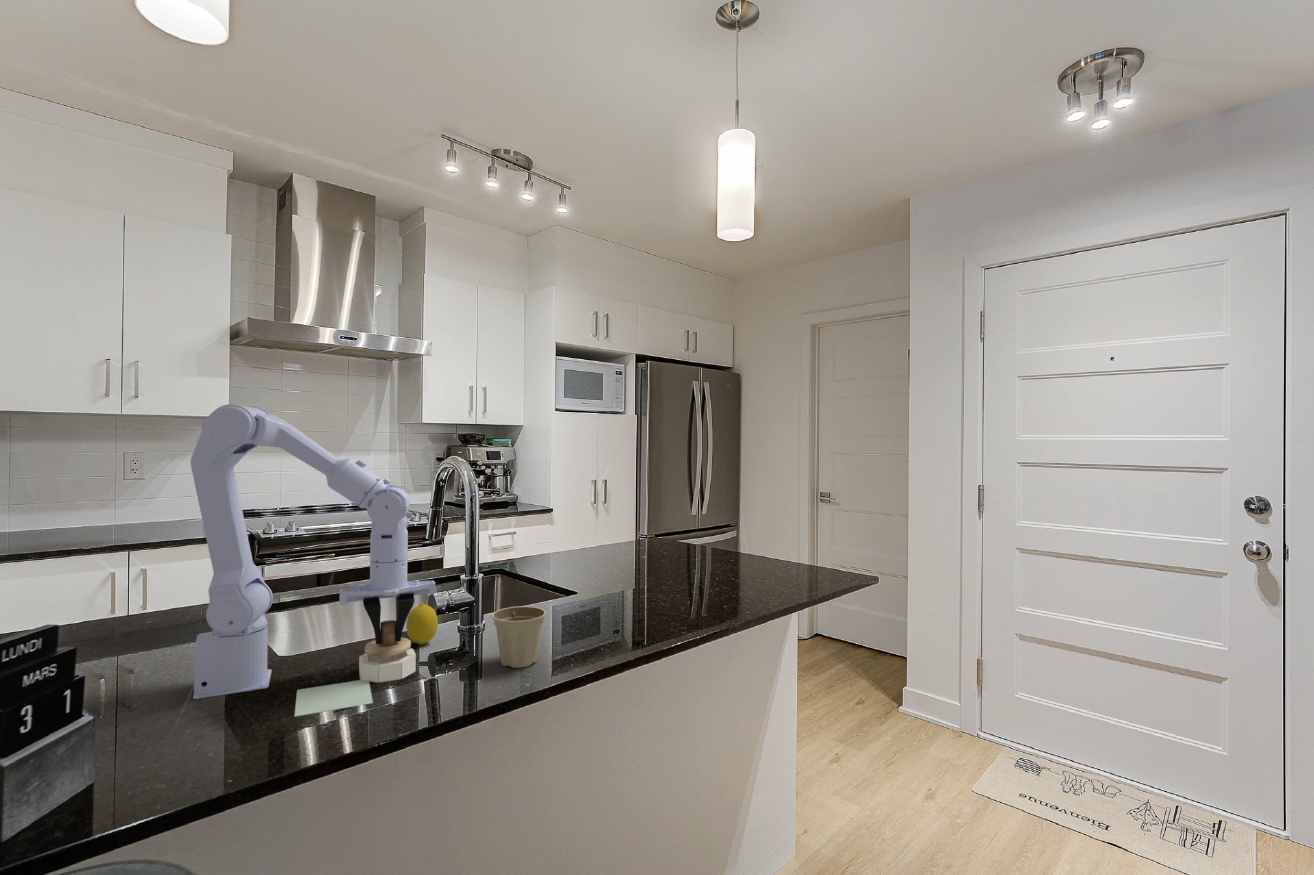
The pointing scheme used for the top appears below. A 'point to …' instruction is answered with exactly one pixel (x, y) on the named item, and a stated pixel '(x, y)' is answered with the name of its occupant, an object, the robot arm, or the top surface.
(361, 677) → the bowl
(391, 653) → the lid
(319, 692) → the mat
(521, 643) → the flower pot
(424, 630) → the lemon
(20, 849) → the top surface
